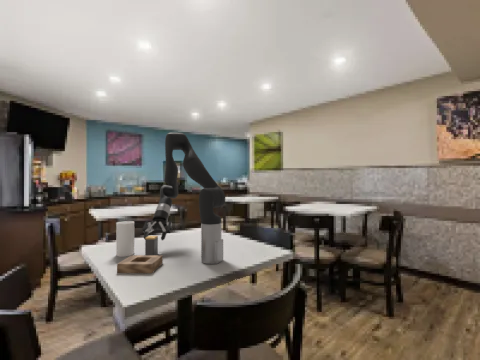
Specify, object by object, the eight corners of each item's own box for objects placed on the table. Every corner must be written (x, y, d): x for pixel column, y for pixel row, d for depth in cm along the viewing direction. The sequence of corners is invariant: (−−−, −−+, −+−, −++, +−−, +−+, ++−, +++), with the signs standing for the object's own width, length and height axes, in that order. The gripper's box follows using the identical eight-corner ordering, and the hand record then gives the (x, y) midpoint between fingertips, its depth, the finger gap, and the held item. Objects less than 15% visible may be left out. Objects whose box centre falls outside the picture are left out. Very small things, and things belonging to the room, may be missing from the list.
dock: (162, 263, 109) (162, 255, 109) (151, 273, 97) (151, 264, 97) (131, 263, 110) (131, 255, 110) (117, 272, 98) (117, 263, 98)
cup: (129, 251, 130) (129, 220, 130) (137, 253, 125) (137, 222, 125) (113, 254, 124) (113, 222, 124) (121, 257, 119) (121, 224, 119)
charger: (157, 254, 123) (157, 235, 123) (154, 257, 118) (154, 237, 118) (149, 254, 123) (149, 235, 123) (145, 257, 118) (145, 237, 119)
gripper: (147, 209, 132) (137, 235, 121) (173, 209, 132) (165, 235, 120) (151, 217, 138) (142, 243, 126) (176, 217, 137) (169, 243, 125)
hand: (153, 239), depth 123 cm, fingers open, 8 cm apart
